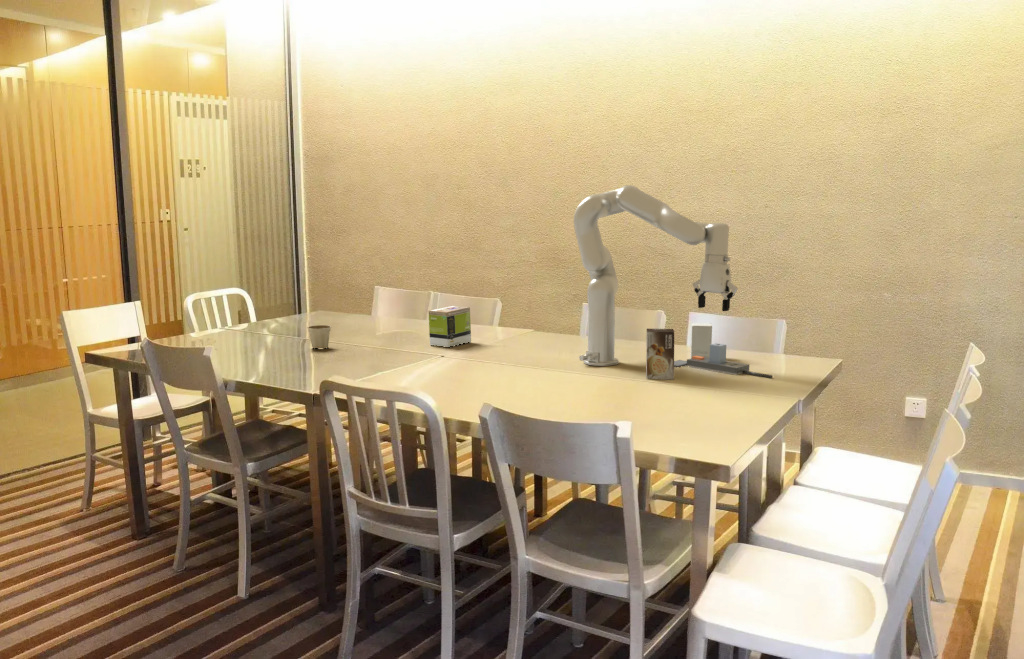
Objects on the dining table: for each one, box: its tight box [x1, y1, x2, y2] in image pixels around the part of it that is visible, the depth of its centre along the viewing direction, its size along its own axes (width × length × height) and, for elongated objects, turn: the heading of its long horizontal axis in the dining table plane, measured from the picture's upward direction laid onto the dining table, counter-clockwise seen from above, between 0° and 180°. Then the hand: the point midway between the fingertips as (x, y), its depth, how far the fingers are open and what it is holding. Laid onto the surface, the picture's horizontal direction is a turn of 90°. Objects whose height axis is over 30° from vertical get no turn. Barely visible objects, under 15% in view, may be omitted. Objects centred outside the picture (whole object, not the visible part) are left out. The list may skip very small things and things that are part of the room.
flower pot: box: [306, 324, 332, 349], centre depth 334 cm, size 9×9×9 cm
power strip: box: [686, 356, 773, 379], centre depth 289 cm, size 8×31×3 cm, turn 43°
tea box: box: [428, 305, 472, 348], centre depth 341 cm, size 15×10×15 cm, turn 144°
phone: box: [674, 359, 687, 368], centre depth 301 cm, size 10×6×1 cm, turn 135°
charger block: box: [709, 342, 727, 364], centre depth 293 cm, size 4×4×8 cm
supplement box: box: [690, 322, 713, 359], centre depth 311 cm, size 7×7×13 cm
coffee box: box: [645, 328, 675, 380], centre depth 279 cm, size 9×6×16 cm
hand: (713, 309), depth 291 cm, fingers open, 9 cm apart
